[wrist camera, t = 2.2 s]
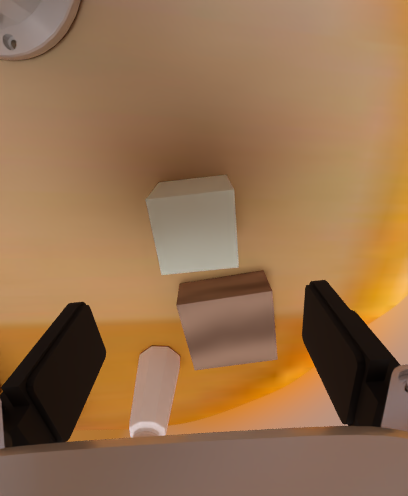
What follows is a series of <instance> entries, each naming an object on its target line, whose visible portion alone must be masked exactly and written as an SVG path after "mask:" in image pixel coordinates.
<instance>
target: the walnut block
mask: <svg viewBox="0 0 408 496" xmlns="http://www.w3.org/2000/svg"><path fill="white" fill-rule="evenodd" d="M177 309H178V313H179V316H180V320H181V323H182V327H183V330H184V334H185V337H186V341H187V344H188V348H189V351H190V355H191V358H192V362H193V365H194V369H195V370H201V369H208V368H216V367H223V366H231V365H239V364H246V363H254V362H262V361H269V360H277V348H276V334H275V321H274V308H273V294H272V289H271V287H270V285H269V282H268V280H267V278H266V275H265V273H264V271H257V272H250V273H244V274H238V275H231V276H225V277H219V278H212V279H206V280H200V281H193V282H187V283H181V284H179V291H178V298H177Z"/></svg>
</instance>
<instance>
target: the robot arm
mask: <svg viewBox="0 0 408 496" xmlns="http://www.w3.org/2000/svg"><path fill="white" fill-rule="evenodd" d="M80 1H81V0H0V59H5V60H23V59H29V58H32V57H35V56H38V55H41V54H43V53H45V52H46V51H48V50H49V49H51V48H52V47H54V46H55V45H56V44H57V43H58V42H59V41H60V40H61V38H62V37H63V36H64V35H65V34H66V33H67V31H68V29H69V28H70V26H71V24H72V22H73V20H74V18H75V17H76V14H77V11H78V7H79V4H80ZM15 44H16V45H17V46H16V47H15ZM302 337H303V341H304V344H305V346H306V348H307V350H308V352H309V354H310V357H311V359H312V361H313V363H314V365H315V367H316V369H317V371H318V374H319V376H320V378H321V379H322V382H323V384H324V386H325V388H326V390H327V393H328V395H329V397H330V399H331V401H332V403H333V405H334V407H335V409H336V411H337V414H338V416H339V418H340V420H341V422H342V423H343V424H348V426H330V427H304V428H284V429H267V430H266V429H265V430H248V431H230V432H213V433H198V434H182V435H165V436H149V437H133V438H119V439H105V440H89V441H75V442H66V441H68V439H69V438H70V436H71V434H72V432H73V430H74V428H75V425H76V423H77V421H78V418H79V416H80V414H81V412H82V409H83V407H84V405H85V403H86V400H87V398H88V396H89V394H90V391H91V389H92V387H93V385H94V382H95V380H96V378H97V376H98V373H99V371H100V369H101V367H102V364H103V362H104V360H105V357H106V349H105V347H104V344H103V341H102V338H101V336H100V333H99V330H98V328H97V325H96V322H95V320H94V317H93V314H92V312H91V309H90V307H89V305H86V304H85V303H84V302H76V303H69V304H68V305H67V306H66V307H65V308H64V310H63V311H62V312H61V313H60V315H59V316H58V317H57V318H56V320H55V321H54V322H53V323H52V325H51V326H50V327H49V328H48V330H47V331H46V332H45V333H44V335H43V336H42V337H41V338H40V340H39V341H38V342H37V343H36V345H35V346H34V347H33V348H32V350H31V351H30V352H29V353H28V355H27V356H26V357H25V358H24V360H23V361H22V362H21V363H20V365H19V366H18V367H17V368H16V370H15V371H14V372H13V373H12V375H11V376H10V377H9V378H8V380H7V381H6V382H5V383H4V385H3V386H2V387H1V389H2V390H3V392H2V394H1V395H0V496H408V365H400V364H399V363H398V362H397V360H396V359H395V358H394V357H393V356H392V354H391V353H390V352H389V351H388V350H387V348H386V347H385V346H384V345H383V344H382V343H381V341H380V340H379V339H378V338H377V337H376V336H375V334H374V333H373V332H372V331H371V330H370V328H368V326H367V325H366V324H365V322H364V321H363V320H362V319H361V318H360V316H359V315H358V314H357V313H356V312H355V311H353V310H350V309H349V308H348V306H347V305H346V304H345V303H344V302H343V300H342V299H341V298H340V297H339V295H338V294H337V293H336V292H335V291H334V289H333V288H332V287H331V286H330V285H329V283H328V282H327V281H326V280H320V281H311V282H310V284H309V285H306V287H305V300H304V315H303V329H302Z"/></svg>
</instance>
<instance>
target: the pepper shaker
mask: <svg viewBox="0 0 408 496" xmlns="http://www.w3.org/2000/svg"><path fill="white" fill-rule="evenodd" d="M179 368H180V356H179V355H178V354H177V353H176V352H174V351H173V350H172V349H170V348H169V347H164V346H151V347H150V348H148V349H147V350H146V351H144V352H143V353H141V354H140V356H139V363H138V370H137V377H136V383H135V390H134V397H133V404H132V411H131V417H130V426H129V429H130V436H131V437H132V438H133V437H149V436H165V435H166V431H167V427H168V422H169V417H170V412H171V407H172V402H173V398H174V393H175V388H176V383H177V378H178V373H179Z"/></svg>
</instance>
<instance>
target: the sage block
mask: <svg viewBox="0 0 408 496" xmlns="http://www.w3.org/2000/svg"><path fill="white" fill-rule="evenodd" d="M145 200H146V205H147V209H148V214H149V219H150V223H151V228H152V232H153V237H154V242H155V246H156V251H157V256H158V260H159V265H160V270H161V274H162V275H167V274H177V273H187V272H197V271H207V270H217V269H227V268H237V267H239V263H238V246H237V229H236V211H235V194H234V188H233V186H232V184H231V183H230V181H229V179H228V177H227V175H218V176H210V177H201V178H192V179H184V180H175V181H166V182H159V183H158V184H157V185H156V187H155V188H154V189H153V190H152V192H151V193H150V194H149V196H148V197H147V198H146V199H145Z"/></svg>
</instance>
